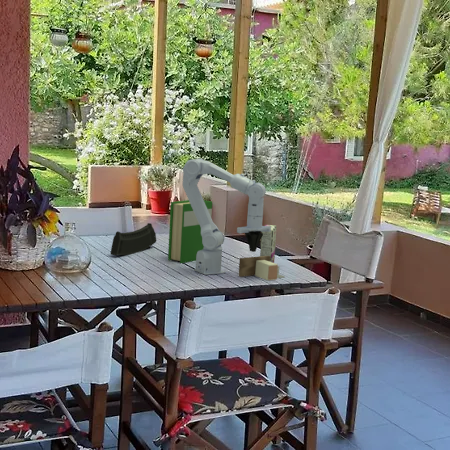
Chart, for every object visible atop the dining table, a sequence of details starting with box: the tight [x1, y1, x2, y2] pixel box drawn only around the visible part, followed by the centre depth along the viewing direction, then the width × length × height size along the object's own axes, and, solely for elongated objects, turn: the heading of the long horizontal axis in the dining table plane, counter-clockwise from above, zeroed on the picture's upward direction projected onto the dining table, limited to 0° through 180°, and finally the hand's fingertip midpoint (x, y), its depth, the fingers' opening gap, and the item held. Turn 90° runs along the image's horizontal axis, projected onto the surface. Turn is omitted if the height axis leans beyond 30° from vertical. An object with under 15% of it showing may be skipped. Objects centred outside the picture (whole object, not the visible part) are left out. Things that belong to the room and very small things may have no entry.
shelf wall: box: [238, 255, 270, 278], centre depth 262 cm, size 14×1×7 cm, turn 125°
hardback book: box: [167, 199, 213, 264], centre depth 282 cm, size 18×7×24 cm, turn 143°
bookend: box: [277, 265, 286, 279], centre depth 263 cm, size 4×7×4 cm, turn 35°
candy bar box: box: [259, 224, 277, 263], centre depth 277 cm, size 11×5×16 cm, turn 168°
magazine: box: [110, 222, 157, 256], centre depth 290 cm, size 17×3×30 cm
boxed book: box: [254, 260, 279, 282], centre depth 259 cm, size 4×8×6 cm, turn 35°
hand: (252, 251), depth 258 cm, fingers closed
